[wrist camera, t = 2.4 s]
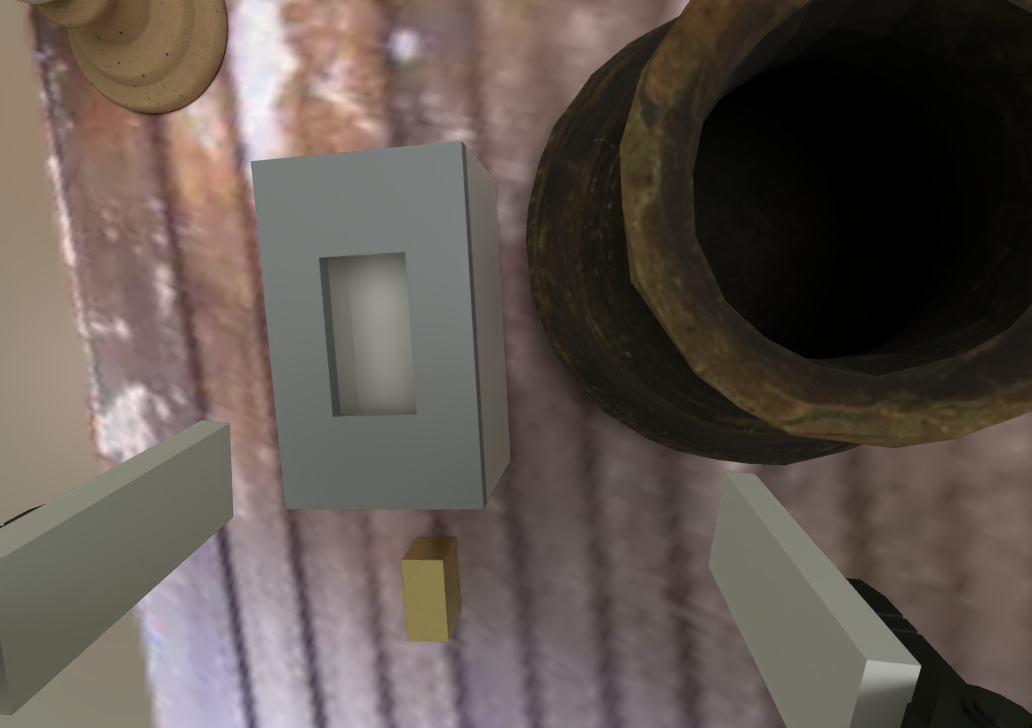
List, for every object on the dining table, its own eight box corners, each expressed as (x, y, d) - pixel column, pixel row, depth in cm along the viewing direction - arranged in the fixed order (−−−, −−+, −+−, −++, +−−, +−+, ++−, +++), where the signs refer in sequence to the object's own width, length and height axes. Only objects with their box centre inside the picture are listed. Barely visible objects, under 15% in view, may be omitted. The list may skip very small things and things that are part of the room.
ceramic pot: (826, -6, 35) (1216, -527, 13) (972, 344, 36) (1564, 415, 14) (485, 171, 39) (341, 6, 17) (625, 480, 40) (659, 700, 18)
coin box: (510, 459, 41) (483, 509, 32) (356, 461, 43) (285, 509, 33) (495, 180, 39) (461, 141, 29) (333, 194, 41) (250, 161, 31)
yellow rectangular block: (461, 611, 43) (448, 641, 40) (424, 609, 44) (407, 640, 40) (456, 536, 43) (442, 560, 39) (419, 536, 43) (401, 559, 39)
